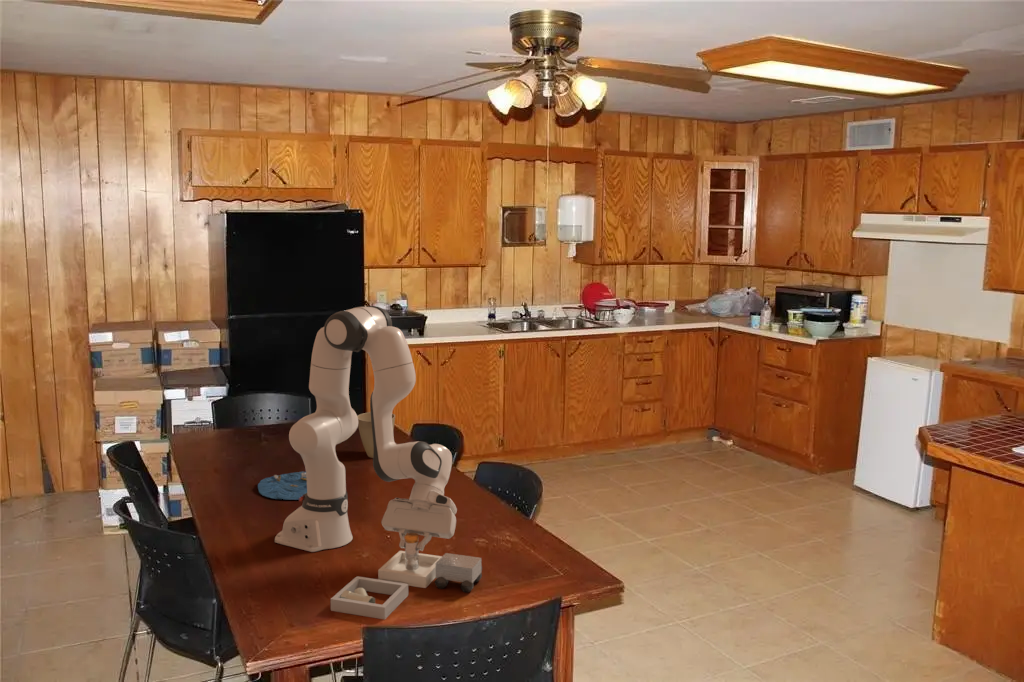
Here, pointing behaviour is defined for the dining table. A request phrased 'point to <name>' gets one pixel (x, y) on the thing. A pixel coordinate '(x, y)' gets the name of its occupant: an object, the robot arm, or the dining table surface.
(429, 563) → the tray
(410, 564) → the jar with orange lid
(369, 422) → the plant pot
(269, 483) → the decorative plate
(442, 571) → the wheeled grey cart
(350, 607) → the parts bin
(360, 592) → the pipe fitting
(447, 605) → the dining table surface
